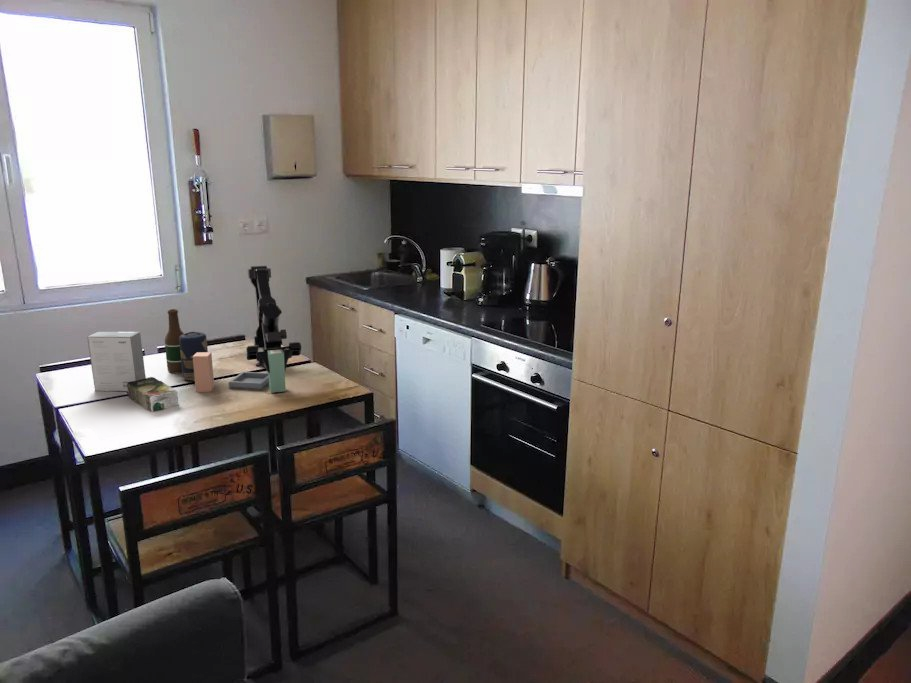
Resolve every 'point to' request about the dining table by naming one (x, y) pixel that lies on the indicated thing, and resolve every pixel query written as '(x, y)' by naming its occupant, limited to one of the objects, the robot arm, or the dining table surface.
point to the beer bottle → (173, 343)
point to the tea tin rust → (203, 371)
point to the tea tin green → (276, 370)
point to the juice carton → (152, 394)
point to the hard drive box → (116, 359)
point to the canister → (191, 351)
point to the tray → (250, 381)
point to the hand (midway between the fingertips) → (277, 371)
